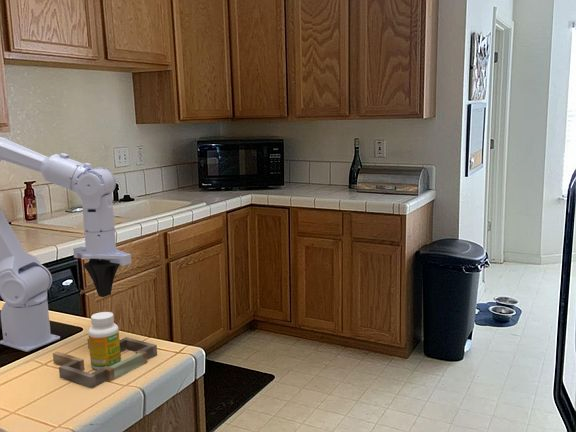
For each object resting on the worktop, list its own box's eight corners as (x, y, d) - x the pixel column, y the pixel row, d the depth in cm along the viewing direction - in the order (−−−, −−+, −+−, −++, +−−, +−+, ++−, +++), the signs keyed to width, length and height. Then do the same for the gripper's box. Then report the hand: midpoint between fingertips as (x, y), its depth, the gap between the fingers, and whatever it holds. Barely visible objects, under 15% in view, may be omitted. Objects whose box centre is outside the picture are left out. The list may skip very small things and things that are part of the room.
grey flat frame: (37, 370, 103) (36, 360, 102) (105, 340, 116) (104, 331, 116) (94, 389, 95) (93, 378, 94) (160, 355, 108) (159, 345, 108)
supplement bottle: (112, 371, 101) (108, 321, 100) (85, 369, 103) (81, 319, 101) (126, 359, 107) (122, 311, 105) (100, 357, 108) (96, 309, 106)
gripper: (58, 230, 111) (64, 295, 113) (109, 236, 103) (114, 306, 105) (87, 224, 116) (92, 286, 119) (137, 229, 109) (141, 296, 111)
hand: (104, 295), depth 113 cm, fingers closed
